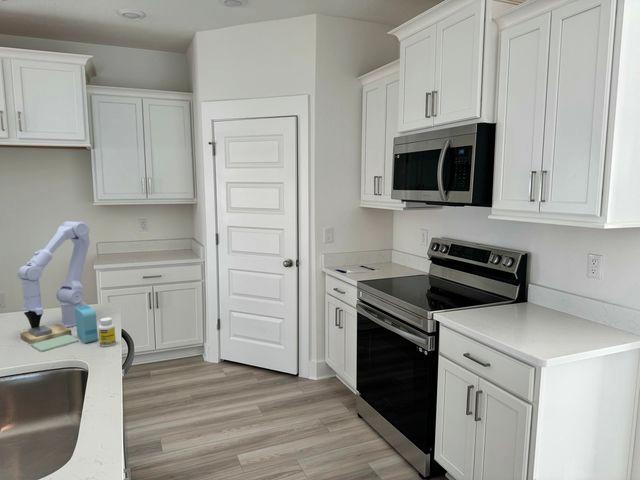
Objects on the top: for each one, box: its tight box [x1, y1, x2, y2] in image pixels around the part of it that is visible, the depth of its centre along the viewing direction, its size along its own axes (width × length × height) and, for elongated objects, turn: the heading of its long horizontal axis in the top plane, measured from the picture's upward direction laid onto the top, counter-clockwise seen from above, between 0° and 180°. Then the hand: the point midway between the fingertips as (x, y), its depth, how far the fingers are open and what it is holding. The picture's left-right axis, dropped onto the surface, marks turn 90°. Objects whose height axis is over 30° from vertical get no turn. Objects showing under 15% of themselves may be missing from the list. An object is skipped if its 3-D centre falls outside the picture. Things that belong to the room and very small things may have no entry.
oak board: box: [19, 323, 73, 345], centre depth 174 cm, size 14×12×2 cm
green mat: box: [30, 335, 80, 353], centre depth 167 cm, size 13×10×1 cm
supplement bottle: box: [98, 317, 117, 347], centre depth 165 cm, size 5×5×10 cm
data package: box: [75, 304, 99, 344], centre depth 171 cm, size 12×4×12 cm, turn 42°
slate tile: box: [27, 325, 52, 337], centre depth 172 cm, size 6×8×2 cm
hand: (35, 328), depth 175 cm, fingers closed
